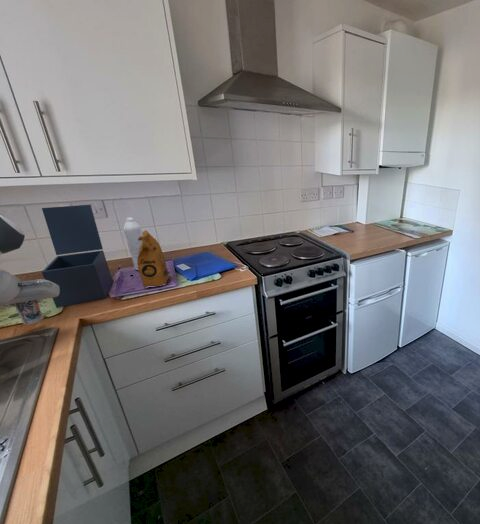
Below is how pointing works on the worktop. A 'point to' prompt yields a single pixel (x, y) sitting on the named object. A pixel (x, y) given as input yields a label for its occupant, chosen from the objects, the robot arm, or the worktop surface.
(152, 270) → the coffee package
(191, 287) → the worktop surface
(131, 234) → the water bottle
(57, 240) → the box lid
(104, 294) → the storage box
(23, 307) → the beer can
